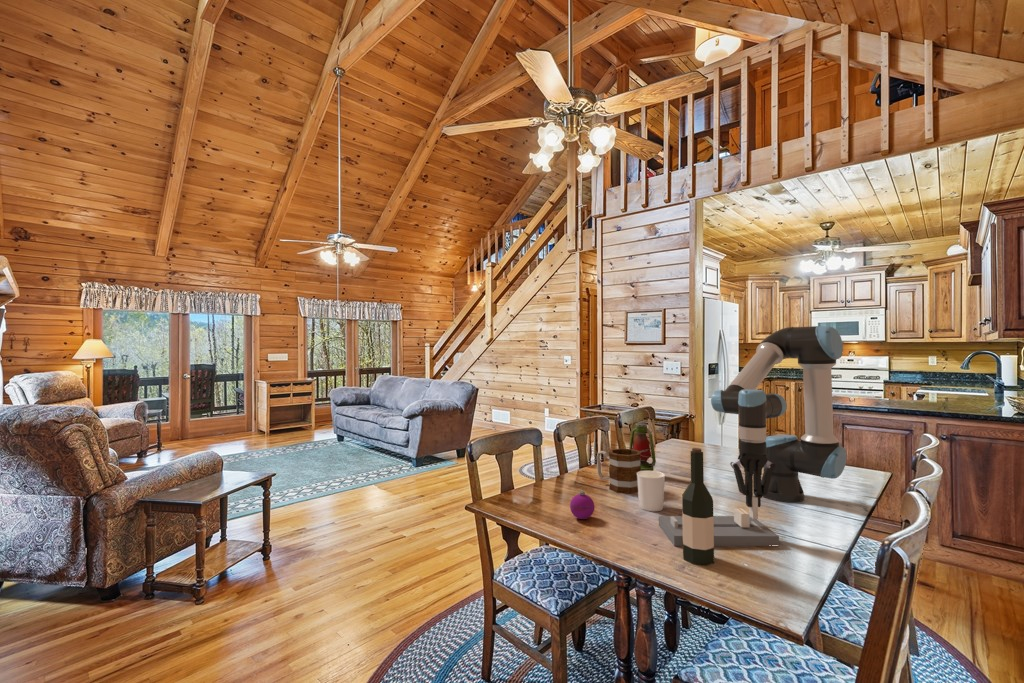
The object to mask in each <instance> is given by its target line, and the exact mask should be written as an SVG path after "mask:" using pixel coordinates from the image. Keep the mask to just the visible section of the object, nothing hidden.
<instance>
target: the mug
mask: <svg viewBox="0 0 1024 683" xmlns="http://www.w3.org/2000/svg"><path fill="white" fill-rule="evenodd" d="M601 454H602V455H604V457H605V458H606V459H607V460H609V463H608V464H609V466H608V474H609V475H607V476H604V474H603V473H602V466H601V465H602V463H601ZM640 456H641V451H637V450H634V449H629V448H620V447H619V448H614V449H610V450H608V453H607V452H606V451H605V450H600V451H598V452H597V455H596V462H597V465H596V466H597V470H596V471H597V474H598V477H599V478H600V479H601V480H609V487H608V490H609V491H612V492H614V493H617V494H627V495H633V494H638V483H637V472H639V471H641V464H640Z"/></svg>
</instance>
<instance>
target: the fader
mask: <svg viewBox="0 0 1024 683" xmlns="http://www.w3.org/2000/svg"><path fill="white" fill-rule="evenodd" d="M733 516H734V521H735V522H736V523H737V524H738V525H739V526H740V527H750V524H749V512H748V511H746V510H745V509H743V508H741V507H740V508H739V507H737V508H733Z"/></svg>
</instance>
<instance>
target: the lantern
mask: <svg viewBox="0 0 1024 683" xmlns="http://www.w3.org/2000/svg"><path fill="white" fill-rule="evenodd" d="M636 411H646V412H647V413H648V417H649V418H648V420H649V422H648V423H649V427H650V429H651V431H650V430H649V429H648V423H646V422H644V421H643V420H640V419H644V417H641V416H640V417H639V418H638V420H639V421H638V422H636V423H635V428H632V427H633V426H634V421H635V420H634V416H635V415H634V414H635V412H636ZM630 429H631V431H630V440H629V447H628V449H634V450H637V451H641V456H640V464H641V471H654V467H655V466H656V463H657V460H656V452H655V446H654V438H653V434H652V433H653V432H654V430H653V428H652V425H651V415H650V411H649V410H647V409H646V408H641V407H640V408H639V407H638V408H636V409H634V410H633V412H632V424H631V425H630ZM635 433H636V437H635ZM647 434H648V436H647ZM634 437H635V439H634ZM648 438H649V439H648ZM649 459H651V460H652V462H651V463H649V462H648V460H649Z"/></svg>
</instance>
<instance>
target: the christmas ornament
mask: <svg viewBox="0 0 1024 683" xmlns="http://www.w3.org/2000/svg"><path fill="white" fill-rule="evenodd" d="M569 509H570V512H571V514H572V515H573V516H574V517H575V518H576V519H579V520H588V519H589V518H591V516H592V515H593V514H594V511H595V503H594V500H593V499H592V497H590V496H589V495H588V494H586V492H585V490H584V489H583V488H581V489H580V490H579V493H578V494H576V495H574V496H573V497H572V499H571V501H570V503H569Z"/></svg>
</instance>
